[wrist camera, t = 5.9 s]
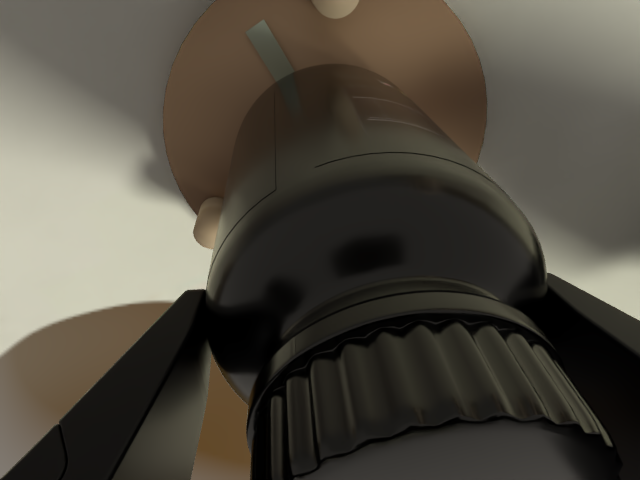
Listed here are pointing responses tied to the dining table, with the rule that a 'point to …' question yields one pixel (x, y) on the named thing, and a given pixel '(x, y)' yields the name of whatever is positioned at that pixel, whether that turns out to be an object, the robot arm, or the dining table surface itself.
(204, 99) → the dowel base
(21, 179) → the dining table surface
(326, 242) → the supplement bottle
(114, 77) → the dining table surface
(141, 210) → the dining table surface
